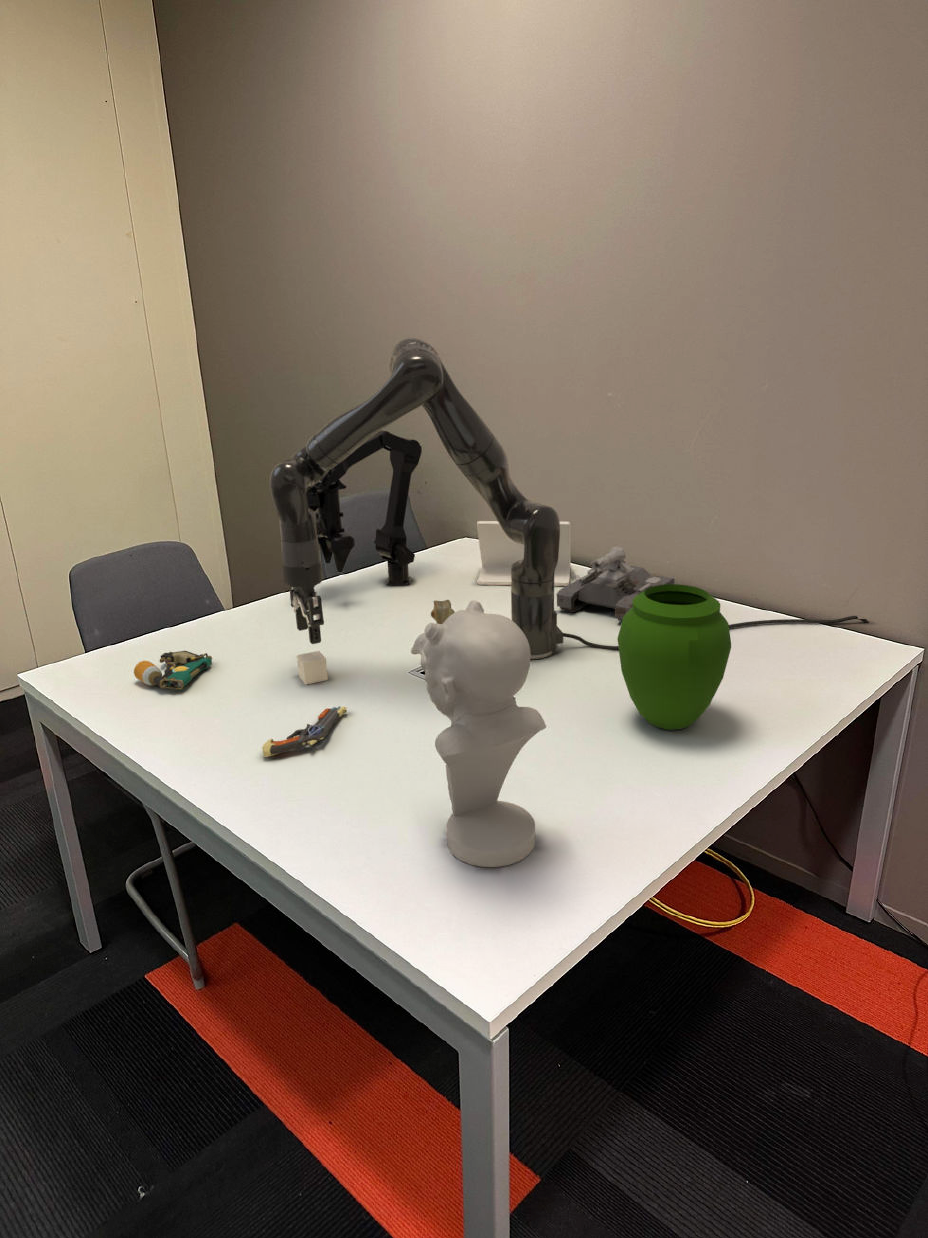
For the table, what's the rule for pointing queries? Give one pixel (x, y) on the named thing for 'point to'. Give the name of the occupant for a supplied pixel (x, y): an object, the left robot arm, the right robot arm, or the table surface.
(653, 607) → the vase
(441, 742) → the bust sculpture
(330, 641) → the table surface
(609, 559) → the toy
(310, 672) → the beige wooden cube
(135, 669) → the spray gun
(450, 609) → the sculpture
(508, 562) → the tablet stand
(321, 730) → the toy gun
